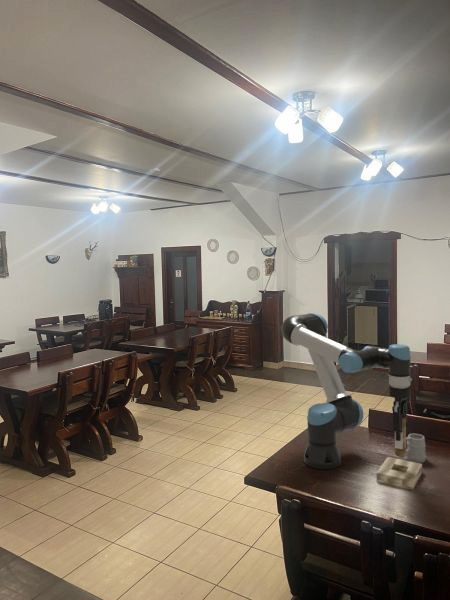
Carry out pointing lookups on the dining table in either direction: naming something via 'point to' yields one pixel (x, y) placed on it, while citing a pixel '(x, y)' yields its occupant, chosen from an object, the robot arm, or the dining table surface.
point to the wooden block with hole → (399, 473)
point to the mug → (416, 448)
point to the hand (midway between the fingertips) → (400, 445)
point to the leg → (403, 451)
